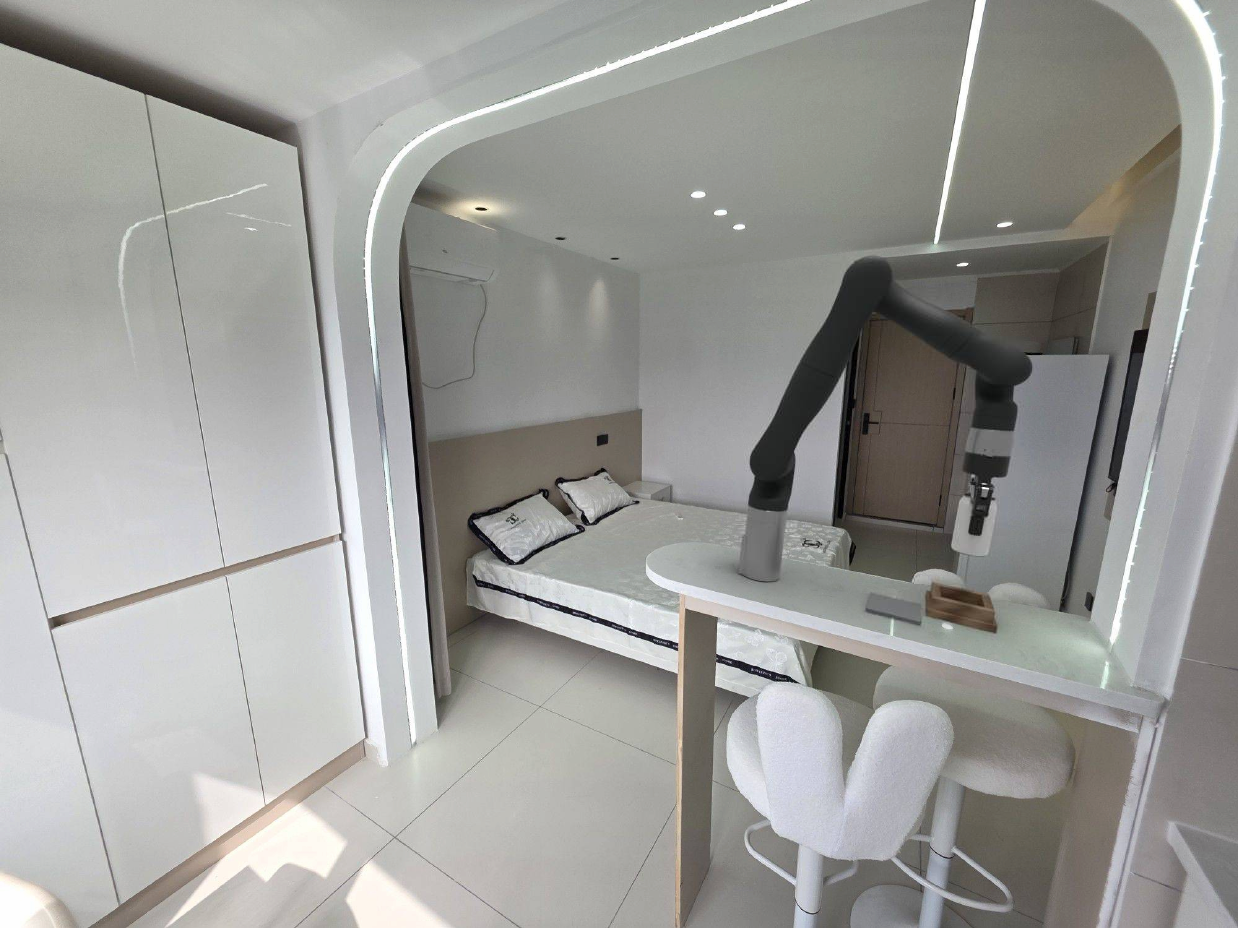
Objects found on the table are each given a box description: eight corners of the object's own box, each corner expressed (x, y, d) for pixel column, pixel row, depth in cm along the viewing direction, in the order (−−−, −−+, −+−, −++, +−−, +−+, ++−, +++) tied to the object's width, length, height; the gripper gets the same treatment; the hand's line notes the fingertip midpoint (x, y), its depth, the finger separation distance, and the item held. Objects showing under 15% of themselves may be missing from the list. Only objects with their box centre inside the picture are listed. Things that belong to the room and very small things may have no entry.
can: (969, 557, 100) (980, 500, 98) (943, 546, 106) (952, 492, 104) (995, 557, 101) (1007, 500, 99) (968, 546, 108) (978, 492, 106)
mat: (865, 611, 105) (865, 607, 104) (869, 595, 113) (870, 592, 113) (920, 625, 100) (920, 621, 99) (920, 607, 108) (920, 604, 108)
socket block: (925, 615, 104) (928, 598, 103) (925, 596, 114) (928, 579, 114) (996, 633, 98) (1000, 614, 97) (989, 611, 108) (992, 593, 108)
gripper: (963, 446, 108) (949, 520, 111) (968, 452, 96) (953, 535, 99) (1005, 450, 104) (990, 526, 107) (1016, 457, 92) (999, 543, 95)
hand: (972, 530), depth 103 cm, fingers closed on can, 6 cm apart
